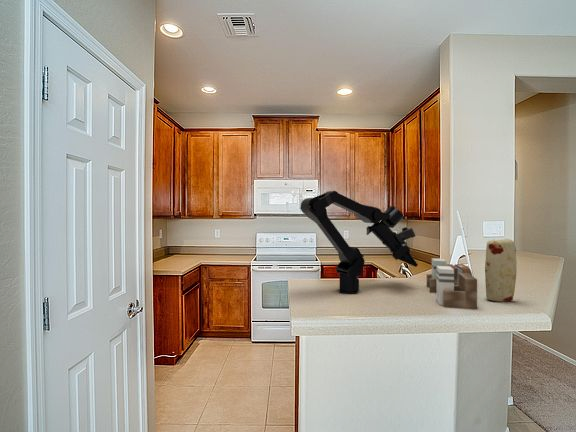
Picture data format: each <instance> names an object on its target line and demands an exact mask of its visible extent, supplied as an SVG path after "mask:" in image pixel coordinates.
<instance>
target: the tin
mask: <svg viewBox="0 0 576 432" xmlns="http://www.w3.org/2000/svg"><path fill="white" fill-rule="evenodd" d="M453 266H455V267H456V268H457V269H458V273H469V274H470V275H472V276H473V272H472V270H471V268H470V267H469V266H467V265H465V264H463V263H457V264H454V265H453Z"/></svg>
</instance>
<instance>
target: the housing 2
mask: <svg viewBox="0 0 576 432" xmlns="http://www.w3.org/2000/svg"><path fill="white" fill-rule="evenodd" d="M442 306H443V307H444V308H451V309H465V310H467V309H468V310H478V278H476V277H474V276H473V274H472V275H470V274H469V273H458V285H454V291H449V290H443V305H442Z"/></svg>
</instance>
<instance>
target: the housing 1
mask: <svg viewBox="0 0 576 432" xmlns="http://www.w3.org/2000/svg"><path fill="white" fill-rule="evenodd" d="M446 266H450V267H451V268H453V269H454V285H458V269H457V268H456V267H455V266H454V265H453V264H451V263H450V264H448V263H446ZM426 288H429V293H430V294H437V279H432V273H426Z"/></svg>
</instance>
